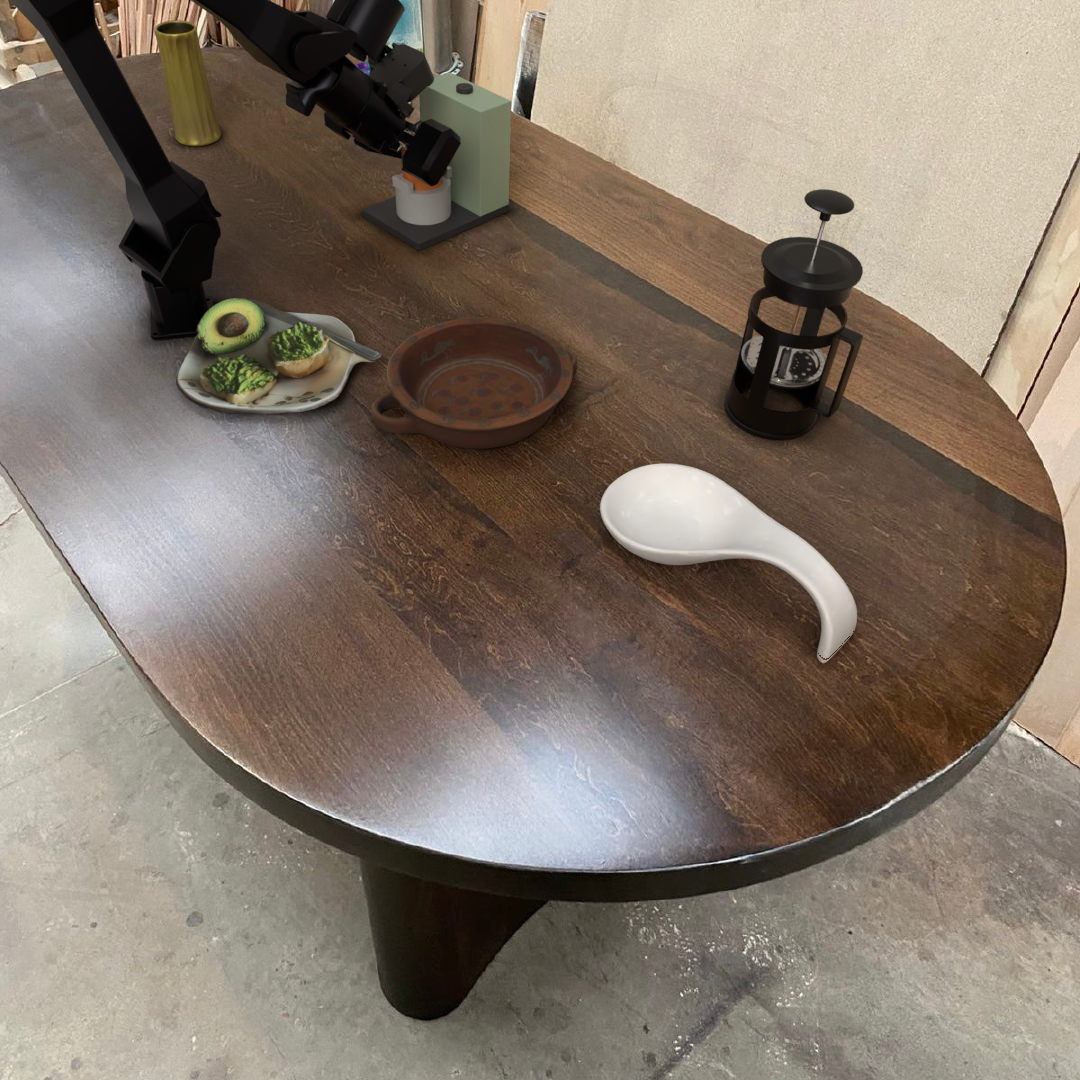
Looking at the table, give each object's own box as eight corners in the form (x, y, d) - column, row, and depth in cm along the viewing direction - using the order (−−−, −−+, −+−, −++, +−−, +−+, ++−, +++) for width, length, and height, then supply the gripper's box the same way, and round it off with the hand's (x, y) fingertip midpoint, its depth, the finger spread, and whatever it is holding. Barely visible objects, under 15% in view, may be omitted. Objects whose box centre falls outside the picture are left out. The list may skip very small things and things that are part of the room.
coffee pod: (447, 189, 116) (446, 149, 113) (405, 193, 115) (402, 152, 112) (439, 169, 120) (438, 129, 116) (397, 173, 119) (395, 132, 115)
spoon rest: (570, 537, 84) (576, 477, 79) (652, 473, 91) (662, 413, 85) (802, 694, 74) (827, 637, 69) (876, 609, 80) (904, 551, 75)
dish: (620, 425, 95) (626, 385, 92) (417, 497, 87) (415, 455, 83) (532, 333, 105) (534, 293, 102) (342, 390, 97) (337, 348, 93)
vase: (201, 123, 137) (178, 15, 126) (230, 136, 134) (210, 27, 124) (166, 137, 133) (140, 27, 123) (196, 151, 131) (172, 39, 120)
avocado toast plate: (395, 325, 105) (392, 288, 102) (363, 431, 93) (359, 393, 89) (218, 310, 105) (210, 272, 102) (164, 414, 93) (152, 375, 89)
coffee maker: (419, 251, 116) (413, 130, 105) (362, 216, 121) (351, 98, 110) (508, 211, 123) (511, 95, 113) (451, 180, 129) (449, 66, 118)
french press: (700, 408, 98) (747, 194, 81) (748, 368, 103) (802, 158, 86) (802, 461, 93) (874, 245, 76) (847, 416, 98) (924, 204, 81)
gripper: (445, 54, 98) (519, 132, 112) (333, 3, 106) (414, 81, 120) (390, 152, 100) (469, 217, 113) (284, 94, 108) (370, 161, 122)
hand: (431, 165), depth 117 cm, fingers closed on coffee pod, 5 cm apart
